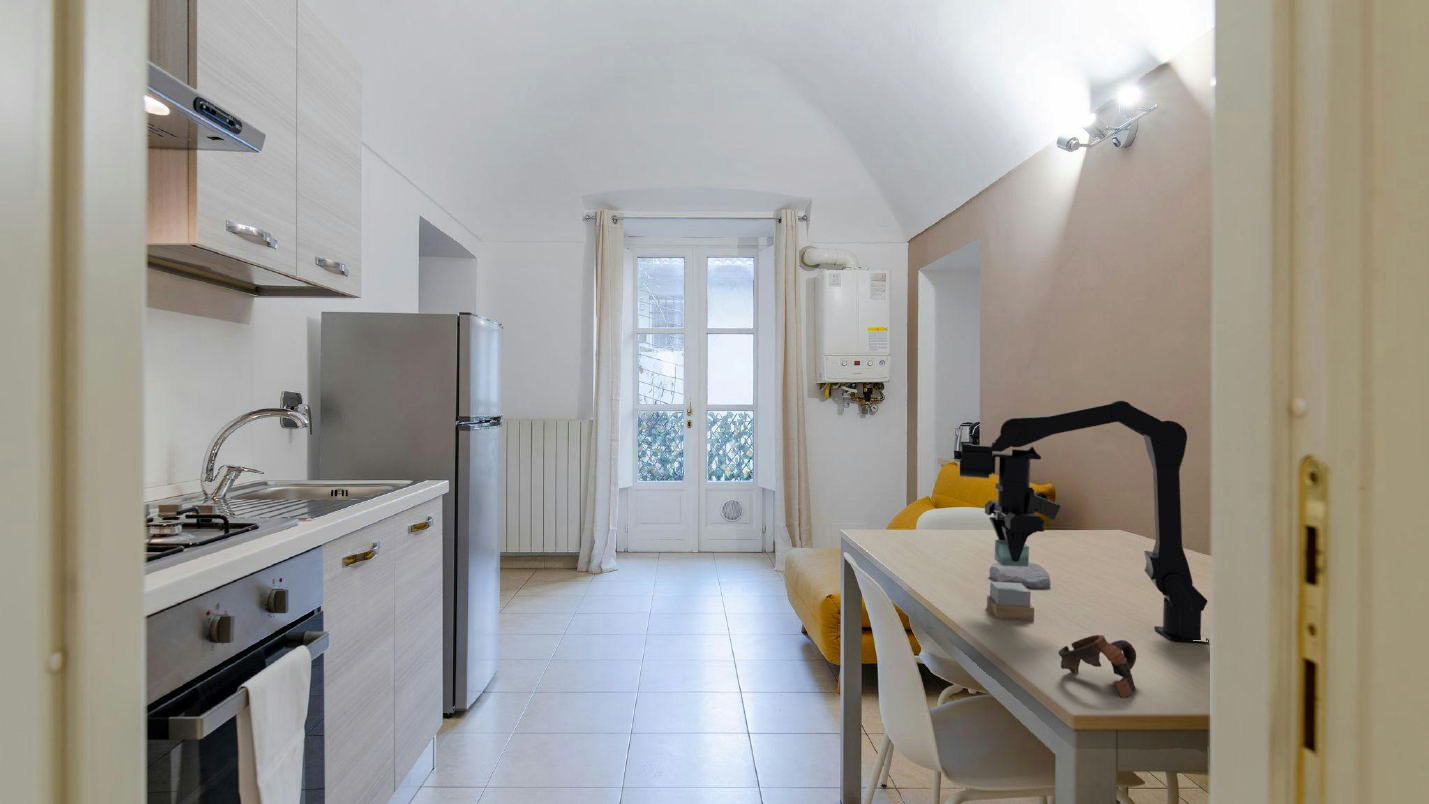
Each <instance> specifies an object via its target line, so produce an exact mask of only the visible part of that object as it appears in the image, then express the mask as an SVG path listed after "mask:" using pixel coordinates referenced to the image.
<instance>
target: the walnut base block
mask: <svg viewBox="0 0 1429 804" xmlns="http://www.w3.org/2000/svg"><path fill="white" fill-rule="evenodd" d="M986 608H987V610H988V611H989V612H990V613H991V612H992V613H991V614H992V616H994V618H995V619H997V620H999V619H1001V620H1013V619H1014V620H1013V621H1031V622H1032V621H1033V622H1034V621H1035V607H1034V606H1033V605H1032V604H1031V603H1030V607H1021V606H1004V605H997V603H996V602H995V601H994V600H993V599H992V598H991V597H990V594H989V595H986Z"/></svg>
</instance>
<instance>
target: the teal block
mask: <svg viewBox="0 0 1429 804" xmlns="http://www.w3.org/2000/svg"><path fill="white" fill-rule="evenodd" d="M1029 554H1030V547H1029V546H1028V545H1027V544H1026V543H1025V545H1024V548H1023V550H1022V553H1021V556H1020V559H1019V561H1018V562H1016V561H1012V558H1011V555H1010V552H1009V549H1008V545H1007V542H1006V540H998V539H995V541H994V561H996V563H999V564H1001V565H1002V566H1020V567H1028V563H1029V561H1030V559H1029V558H1030V557H1029V556H1030V555H1029Z"/></svg>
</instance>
